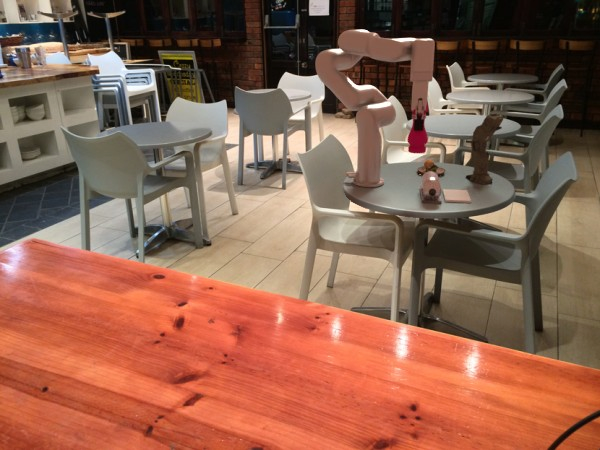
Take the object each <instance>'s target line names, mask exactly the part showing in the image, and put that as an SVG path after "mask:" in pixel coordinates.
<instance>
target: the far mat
mask: <svg viewBox="0 0 600 450" xmlns="http://www.w3.org/2000/svg"><path fill="white" fill-rule="evenodd" d="M442 194H443V198H444V202H445V203H460V204H461V203H466V204H472V199H471V197H470V194H469V192H468V189H451V188H450V189H449V188H448V189H447V188H446V189H445V188H443V189H442Z"/></svg>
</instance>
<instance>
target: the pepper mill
mask: <svg viewBox="0 0 600 450" xmlns="http://www.w3.org/2000/svg"><path fill="white" fill-rule="evenodd" d="M418 101H419V99H418ZM411 108H412V104H411V105H410V111H411V112H412V114H411V119H412V125H411V129H410V130H409V133H408V136H407V143H408V144H409V145H408V152H409V153H411V154H424V153H426V150H427V147H426V145H427V143H428V140H429V137H428V133H427V131H426V126H425V125H426V124H425V119H426V118H427V112H428V111H429V104H428V103H427V104H426V110H425V111H424V113H423V119H424V124H423V131H414V119H415V113H416V112H415V111H416V109H415V110H413V111H412V110H411ZM417 110H418V109H417ZM422 110H423V109H422ZM417 113H418V112H417Z"/></svg>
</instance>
